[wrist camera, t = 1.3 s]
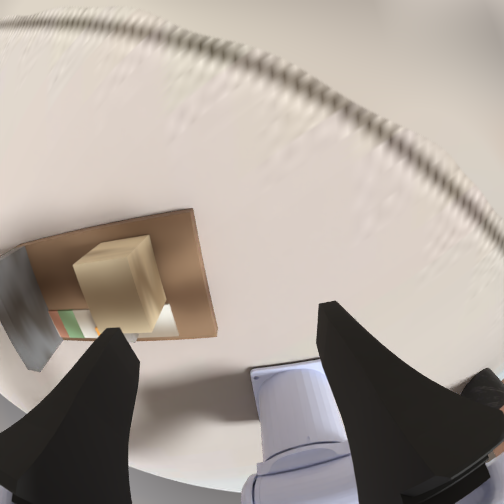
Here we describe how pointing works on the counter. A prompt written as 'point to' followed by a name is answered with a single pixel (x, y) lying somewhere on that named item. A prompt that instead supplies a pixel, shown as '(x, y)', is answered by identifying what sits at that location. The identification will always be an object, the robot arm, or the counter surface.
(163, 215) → the base
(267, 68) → the counter surface
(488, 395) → the travel mug
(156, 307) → the tan rectangular block
